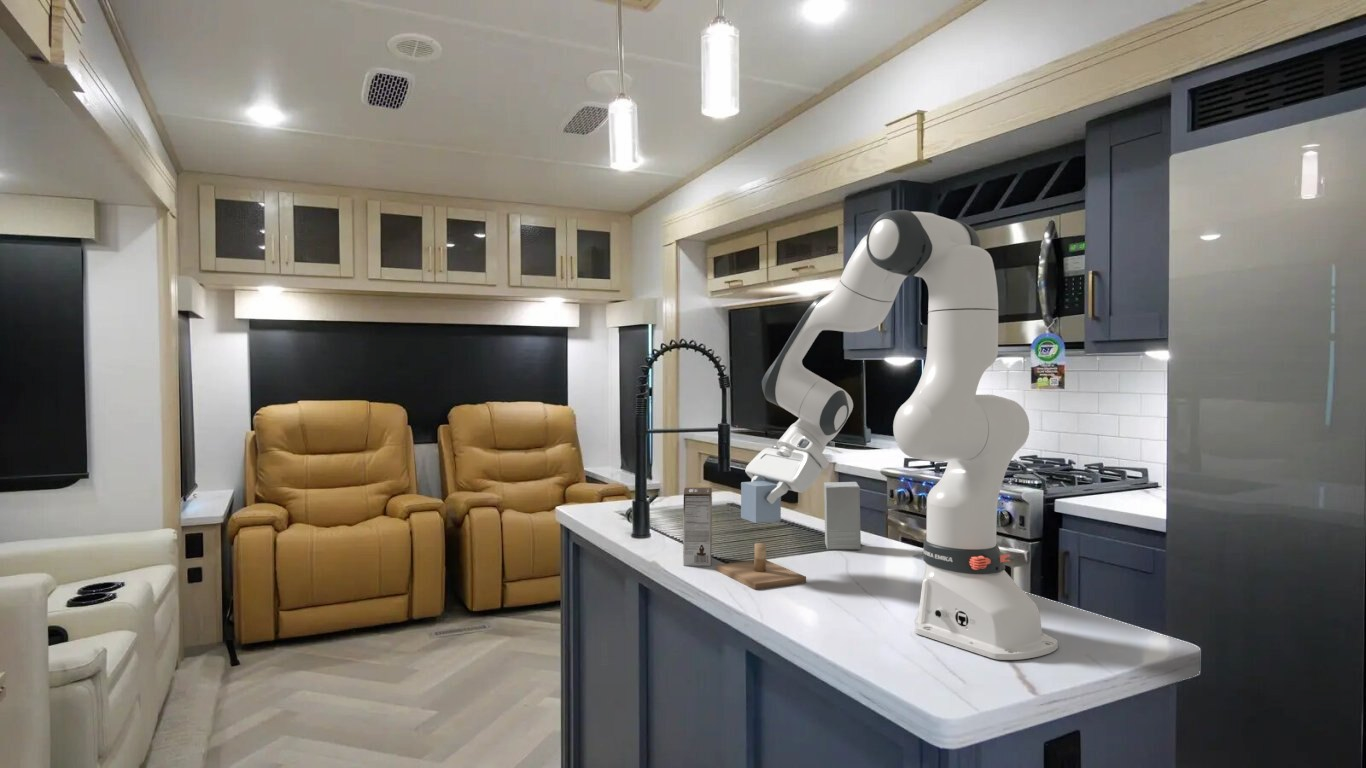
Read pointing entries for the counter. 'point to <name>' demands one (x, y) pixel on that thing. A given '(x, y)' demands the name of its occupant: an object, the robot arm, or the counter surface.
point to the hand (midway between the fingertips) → (758, 498)
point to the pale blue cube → (759, 502)
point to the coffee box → (697, 527)
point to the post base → (760, 571)
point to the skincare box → (842, 515)
